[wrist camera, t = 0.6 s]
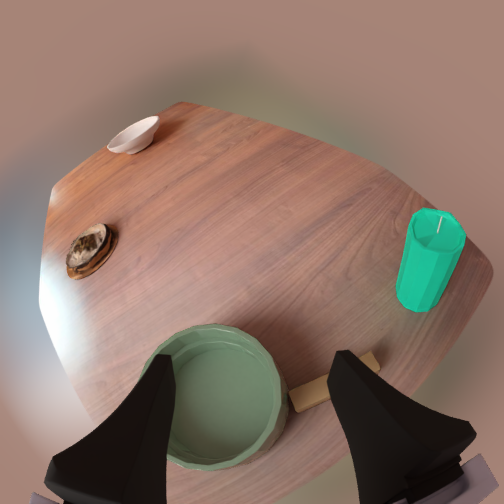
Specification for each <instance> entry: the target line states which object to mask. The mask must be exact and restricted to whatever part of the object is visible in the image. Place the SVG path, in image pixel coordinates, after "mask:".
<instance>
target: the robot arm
mask: <svg viewBox="0 0 504 504" xmlns="http://www.w3.org/2000/svg"><path fill="white" fill-rule="evenodd" d="M326 382H327V386H328V390H329V394H330V398H331V401H332V404H333V406H334V409H335V411H336V413H337V416H338V418H339V421H340V423H341V426H342V428H343V430H344V433H345V435H346V438H347V441H348V444H349V448H350V451H351V455H352V459H353V463H354V468H355V473H356V478H357V485H358V491H359V501H360V504H478V503H480V502H481V501H482V500H483V499H484V498H486V497H487V496H488V495H489V494H490V493H491V492H493V491H494V490H495V489H496V488H497V487H498V486H499V484H498V483H497V481H496V479H495V477H494V475H493V474H492V472H491V470H490V469H489V467H488V465H487V464H486V462H485V460H484V458H483V457H482V456H481V454H478V455H477V456H475V457H474V458H472V459H471V460H469V461H467V462H466V463H465V464H463V465H462V466H460V464H459V462H460V461H461V457H460V454H461V453H462V452H463V451H464V450H465V449H466V447H468V446H469V445H470V444H471V443H472V442H473V440H474V439H475V438H476V434H477V433H476V432H475V430H474V429H473V427H472V426H471V424H470V423H469V421H465V420H461V419H457V418H453V417H449V416H447V415H444V414H441V413H439V412H436V411H434V410H431V409H429V408H427V407H425V406H423V405H421V404H419V403H417V402H415V401H413V400H412V399H410V398H409V397H407V396H405V395H404V394H402V393H401V392H399V391H398V390H396V389H395V388H394V387H392V386H391V385H390V384H388V383H387V382H386V381H384V380H383V379H382V378H381V377H379V376H378V375H377V374H376V373H375V372H373V371H372V370H371V369H370V368H369V367H368V366H367V365H365V364H364V363H363V362H362V361H361V360H360V359H359V358H358V357H356V356H355V355H354V354H353V353H352V352H351V351H349V350H342V351H336V354H335V357H334V360H333V363H332V367H331V369H330V372H329V375H328V378H327V381H326ZM175 397H176V382H175V377H174V371H173V364H172V358H171V355H167V354H156V355H155V356H154V358H153V360H152V361H151V363H150V365H149V366H148V368H147V370H146V371H145V373H144V374H143V376H142V377H141V378H140V380H139V381H138V383H137V384H136V385H135V387H134V388H133V390H132V391H131V392H130V393H129V395H128V396H127V397H126V398H125V399H124V401H123V402H122V403H121V404H120V405H119V406H118V408H117V409H116V410H115V411H114V412H113V413H112V414H111V415H110V416H109V417H108V418H107V419H106V420H105V421H104V422H103V423H101V424H100V425H99V426H98V427H97V428H96V429H95V430H93V431H92V432H91V433H90V434H88V435H87V436H85V437H84V438H83V439H81V440H80V441H78V442H77V443H76V444H74V445H72V446H71V447H69V448H67V449H66V450H64V451H62V452H60V453H58V454H56V455H55V456H53V458H52V460H51V462H50V464H49V467H48V470H47V474H46V477H45V481H44V483H45V485H46V486H47V488H48V489H50V490H51V491H52V492H54V493H55V494H56V495H58V496H59V497H60V498H62V499H63V500H64V503H63V504H167V500H166V465H167V450H168V443H169V437H170V431H171V425H172V420H173V414H174V408H175ZM29 504H59V503H57V502H55V501H52V500H50V499H48V498H45V497H43V496H41V495H39V494H37V493H35V492H33V493H32V495H31V499H30V503H29Z"/></svg>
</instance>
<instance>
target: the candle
mask: <svg viewBox="0 0 504 504" xmlns="http://www.w3.org/2000/svg"><path fill="white" fill-rule="evenodd" d="M465 239H466V233H465V231H464V230H463V228H462V227H461V225H460V224H459V222H458V221H457V220H456V219H455V217H454V216H453V215H452V214H451V213H449V212H445V211H441V210H436V209H429V208H422V209H421V210H419V211H418V212H416V213H414V214H413V216H412V218H411V221H410V223H409V226H408V231H407V237H406V242H405V247H404V252H403V257H402V261H401V266H400V270H399V274H398V278H397V282H396V294H397V298H398V300H399V301H400V302H401V303H402V305H403V306H404V307H405V308H407V309H409V310H412V311H414V312H426V311H429V310H430V309H431V308H433V307H434V306H435V305H437V303H438V301H439V299H440V297H441V295H442V293H443V291H444V289H445V287H446V285H447V283H448V281H449V279H450V277H451V275H452V273H453V271H454V268H455V266H456V264H457V262H458V259H459V257H460V255H461V252H462V250H463V247H464V244H465Z"/></svg>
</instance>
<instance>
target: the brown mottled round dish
mask: <svg viewBox="0 0 504 504" xmlns="http://www.w3.org/2000/svg"><path fill="white" fill-rule="evenodd" d="M117 240H118V230H117V228H116V227H115V226H113V225H106V224H102V223H99V224H96V225H94V226H92V227H90V228H89V229H88V230H86V231H85V232H83V233H82V234H81V235H79V236H78V237H77V238H76V240H74V241H73V245H72V244H71V246H72V247H71V248H70V249H69V250H70V251H69V253H68V254H67V257H66V264H67V273H68V276H69V277H70V278H72V279H81V278H84V277H86V276H88V275H90V274H91V273H92V272H94V271H95V270H97V268H99V267H100V266H101V265H102V264H103V262H105V261H106V259H107V258H108V257H109V256H110V254H111V253H112V252H113V250H114V248H115V246H116V244H117Z"/></svg>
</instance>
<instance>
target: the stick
mask: <svg viewBox="0 0 504 504" xmlns="http://www.w3.org/2000/svg"><path fill="white" fill-rule="evenodd" d="M359 359H360V360H361V361H362V362H363V363H364V364H365V365H367V366H368V367H369V368H370V369H371V370H372V371H373V372H375V373H376V374H377V375H378V373H379V371H380V370H381V367H380V366H379V364H378V362H377V360H376V359H375V357H374V355H373V353H372V352H371V351H370V352H368V353H366V354H364V355H363V356H361V357H359ZM328 375H329V373H327V374H325V375H323V376H321V377H319V378H317V379H315V380H312V381H310V382H308V383H306V384H304V385H301V386H299V387H297V388H294V389H292V390H290V391H288V394H289V396H290V399H291V401H292V403H293V406H294V408H295V410H296V411H297V412H298V413H300V412H303V411H305V410H307V409H310V408H312V407H314V406H317V405H319V404H321V403H323V402H325V401H328V400H330V399H331V398H330V394H329V390H328V386H327V382H326V381H327V378H328Z"/></svg>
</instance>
